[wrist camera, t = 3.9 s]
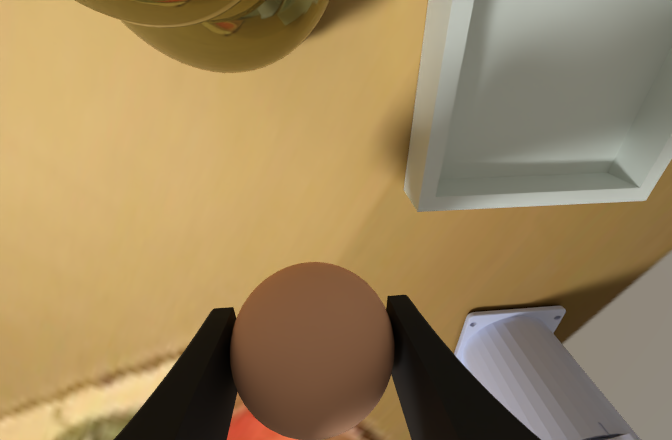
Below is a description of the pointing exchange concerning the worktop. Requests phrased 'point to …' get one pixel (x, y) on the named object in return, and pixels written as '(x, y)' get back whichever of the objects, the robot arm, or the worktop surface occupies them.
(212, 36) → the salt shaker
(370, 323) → the ball
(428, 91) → the tray
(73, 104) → the worktop surface
